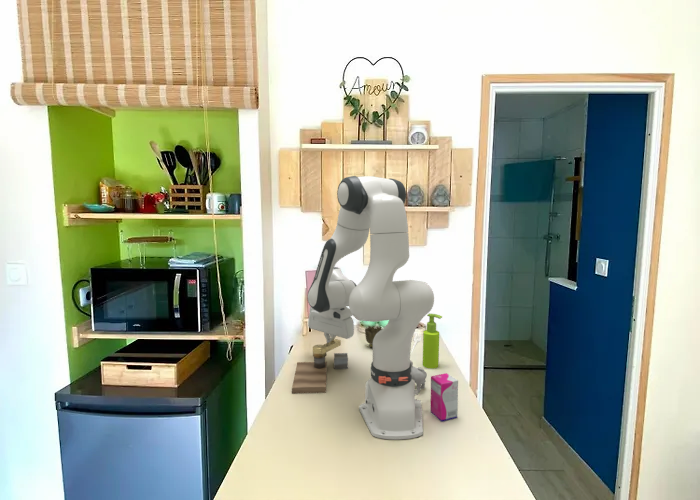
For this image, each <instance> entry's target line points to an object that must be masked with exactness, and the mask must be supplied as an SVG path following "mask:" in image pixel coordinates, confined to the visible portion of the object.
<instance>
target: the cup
mask: <svg viewBox="0 0 700 500" xmlns="http://www.w3.org/2000/svg"><path fill="white" fill-rule="evenodd" d="M382 329H383V328H382V327H381V326H380V327H379V326H378V325H377V326H376V327H375V326H373V325H372V326H368V327H365V328H364V334H365V340H366V342H367V344H369V345H368V346H369V347H370V349H371V348H372V349H373V339H374V337H375V335H376V334H377V333H378V332H379V331H380V330H382Z"/></svg>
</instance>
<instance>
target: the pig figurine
mask: <svg viewBox="0 0 700 500" xmlns="http://www.w3.org/2000/svg"><path fill="white" fill-rule="evenodd" d="M410 364H411V368H412V379H413V380H414V381H415V385H416V389H415V390H418V394H419V393H420V392H421V390H423V389H424V390H425V387H426V382H427V381H426V379H427V371H425V369H424V368H422V367H420V366H418V367H416V366H414V365H413V361H412V360H411V359H410Z"/></svg>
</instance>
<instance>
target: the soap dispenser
mask: <svg viewBox="0 0 700 500" xmlns="http://www.w3.org/2000/svg"><path fill="white" fill-rule="evenodd" d="M426 316H427V317H428V319H429V321H427V322H426V329H425V330H423V331H422V333H423V334H422V335H423V337H422V338H423V339H422V366H423V367H424V368H426V369H432V370H434V369H438V368H439V363H440V362H439V358H440V357H439V355H440V353H439V352H440V331H438V330H437V322H435V318H437V319H439V320H441V319H443V315H440V314H436V313H427V314H426Z"/></svg>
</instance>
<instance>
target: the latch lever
mask: <svg viewBox="0 0 700 500" xmlns="http://www.w3.org/2000/svg"><path fill="white" fill-rule="evenodd" d="M341 344H342V341H341V340H340V339H338V338H337V339H336V338H335V339H334V340H333V341H330V342H328V343H327V342H326V343H324V344H315V345H313V346H312V357H313V358H314V357H316V358H322V357H325V358H326V357H327V354H328V352H330V351H332V350H334V349H337V348H338V347H340V346H342V345H341Z"/></svg>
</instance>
